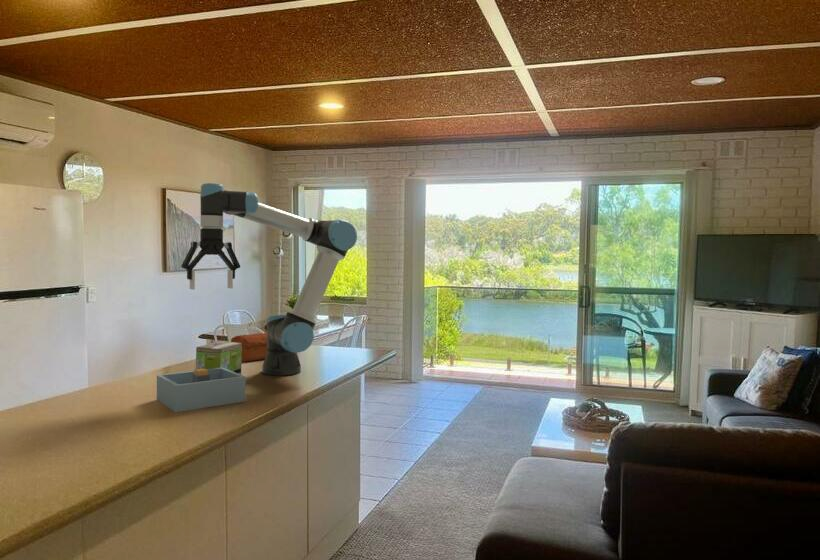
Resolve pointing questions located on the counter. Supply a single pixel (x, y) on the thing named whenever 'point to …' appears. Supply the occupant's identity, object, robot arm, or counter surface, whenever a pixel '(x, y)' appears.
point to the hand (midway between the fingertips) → (211, 288)
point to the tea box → (220, 356)
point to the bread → (252, 346)
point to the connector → (201, 375)
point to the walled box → (200, 389)
